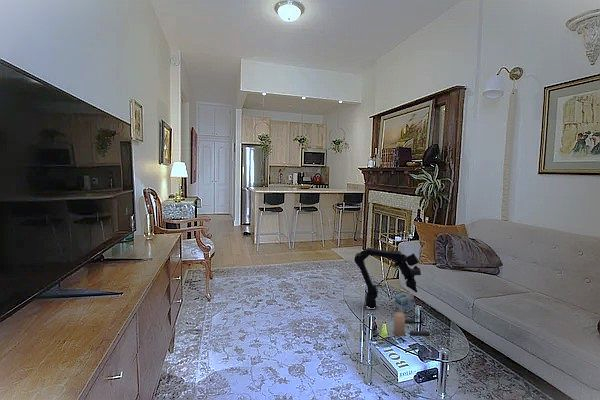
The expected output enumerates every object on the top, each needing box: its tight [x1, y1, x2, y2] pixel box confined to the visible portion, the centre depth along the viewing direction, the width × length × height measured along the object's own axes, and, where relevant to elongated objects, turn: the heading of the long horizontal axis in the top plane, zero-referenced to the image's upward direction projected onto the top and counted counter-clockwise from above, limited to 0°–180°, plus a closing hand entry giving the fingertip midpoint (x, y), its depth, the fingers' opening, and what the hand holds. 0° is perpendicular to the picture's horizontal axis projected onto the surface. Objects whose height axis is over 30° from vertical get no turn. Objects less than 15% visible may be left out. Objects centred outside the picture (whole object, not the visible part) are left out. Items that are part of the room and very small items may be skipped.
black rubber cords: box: [405, 318, 430, 336], centre depth 198 cm, size 11×15×2 cm
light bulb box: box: [394, 291, 415, 314], centre depth 219 cm, size 11×7×11 cm, turn 117°
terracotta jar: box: [393, 311, 406, 337], centre depth 193 cm, size 6×6×12 cm
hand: (416, 289), depth 216 cm, fingers open, 9 cm apart
